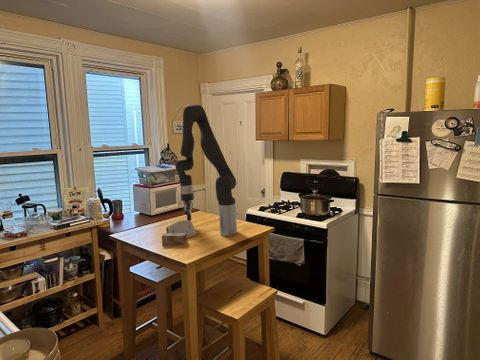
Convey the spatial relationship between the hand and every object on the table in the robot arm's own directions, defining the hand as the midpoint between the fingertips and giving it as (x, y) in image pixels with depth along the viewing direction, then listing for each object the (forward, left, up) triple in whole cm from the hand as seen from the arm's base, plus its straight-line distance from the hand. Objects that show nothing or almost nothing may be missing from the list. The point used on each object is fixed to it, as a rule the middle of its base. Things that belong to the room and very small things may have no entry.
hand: (189, 220), depth 195 cm
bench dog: (+1, +28, -4) cm, 28 cm away
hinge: (0, +17, -5) cm, 17 cm away
